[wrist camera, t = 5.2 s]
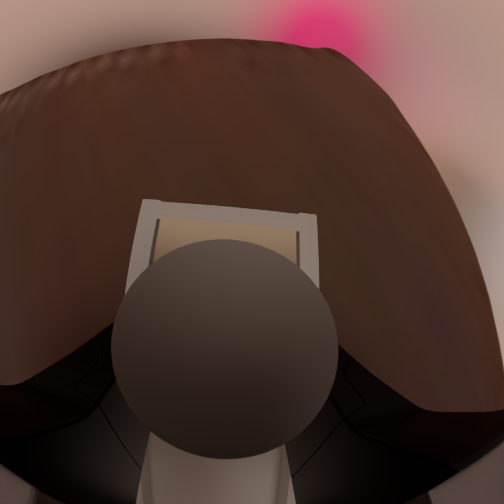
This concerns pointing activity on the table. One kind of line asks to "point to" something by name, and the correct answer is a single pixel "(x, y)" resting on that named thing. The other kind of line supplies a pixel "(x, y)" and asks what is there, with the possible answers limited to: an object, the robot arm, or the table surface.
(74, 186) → the table surface
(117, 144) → the table surface
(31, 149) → the table surface
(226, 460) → the shelf lane
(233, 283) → the handle block
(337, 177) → the table surface
